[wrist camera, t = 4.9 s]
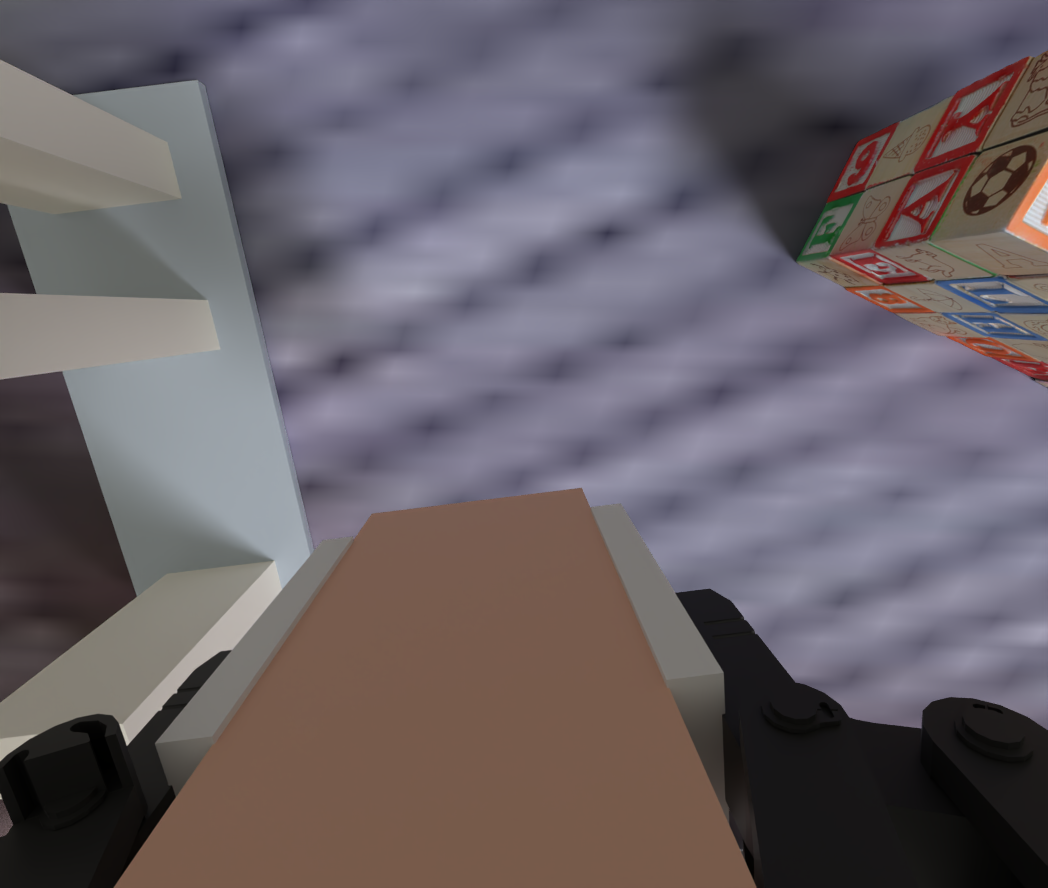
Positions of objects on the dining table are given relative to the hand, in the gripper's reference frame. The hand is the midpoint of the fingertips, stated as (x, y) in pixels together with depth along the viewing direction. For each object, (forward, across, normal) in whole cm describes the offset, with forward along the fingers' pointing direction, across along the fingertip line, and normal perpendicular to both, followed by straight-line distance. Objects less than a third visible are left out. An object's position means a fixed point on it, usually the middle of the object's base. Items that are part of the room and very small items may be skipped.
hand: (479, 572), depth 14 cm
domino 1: (+15, +16, -8) cm, 23 cm away
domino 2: (+15, +16, +6) cm, 23 cm away
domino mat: (+16, +16, 0) cm, 22 cm away
